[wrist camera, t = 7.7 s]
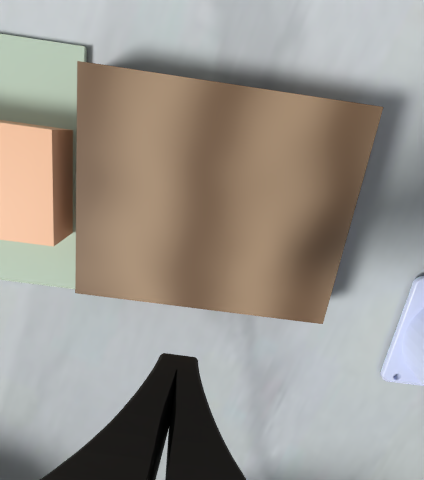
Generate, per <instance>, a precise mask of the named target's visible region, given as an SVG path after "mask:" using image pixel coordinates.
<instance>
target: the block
mask: <svg viewBox="0 0 424 480" xmlns="http://www.w3.org/2000/svg"><path fill="white" fill-rule="evenodd" d="M72 233H73V130H70V129H63V128H55V127H48V126H41V125H34V124H27V123H20V122H13V121H5V120H0V240H6V241H14V242H22V243H30V244H38V245H46V246H55V245H57V244H58V243H59V242H61V241H62V240H64V239H65V238H66V237H68V236H69V235H70V234H72Z"/></svg>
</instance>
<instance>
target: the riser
mask: <svg viewBox="0 0 424 480" xmlns="http://www.w3.org/2000/svg"><path fill="white" fill-rule="evenodd" d="M382 110H383V107H380V106H373V105H367V104H360V103H353V102H347V101H340V100H333V99H327V98H320V97H314V96H307V95H300V94H294V93H287V92H280V91H274V90H267V89H260V88H254V87H247V86H241V85H234V84H227V83H221V82H214V81H207V80H201V79H194V78H187V77H181V76H174V75H168V74H161V73H154V72H148V71H141V70H134V69H128V68H121V67H114V66H108V65H101V64H95V63H88V62H81V61H77V148H76V272H75V293H79V294H87V295H95V296H103V297H111V298H119V299H127V300H135V301H143V302H151V303H159V304H167V305H175V306H183V307H191V308H199V309H207V310H215V311H223V312H231V313H239V314H247V315H255V316H263V317H271V318H279V319H287V320H295V321H303V322H311V323H319V324H323V321H324V317H325V314H326V310H327V307H328V303H329V300H330V296H331V292H332V289H333V285H334V282H335V278H336V275H337V271H338V267H339V264H340V260H341V257H342V253H343V250H344V246H345V242H346V239H347V235H348V232H349V228H350V225H351V221H352V217H353V214H354V210H355V207H356V203H357V200H358V196H359V192H360V189H361V185H362V182H363V178H364V175H365V171H366V167H367V164H368V160H369V157H370V153H371V150H372V146H373V142H374V139H375V135H376V132H377V128H378V125H379V121H380V117H381V114H382Z"/></svg>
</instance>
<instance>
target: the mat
mask: <svg viewBox="0 0 424 480" xmlns="http://www.w3.org/2000/svg"><path fill="white" fill-rule="evenodd" d="M86 58H87V48H86V47H85V46H78V45H72V44H65V43H58V42H52V41H45V40H39V39H32V38H26V37H19V36H12V35H6V34H0V120H5V121H13V122H20V123H27V124H34V125H41V126H48V127H55V128H63V129H70V130H73V233H72V234H70V235H69V236H68V237H66V238H65V239H64V240H62V241H61V242H59V243H58V244H57V245H55V246H46V245H38V244H30V243H22V242H14V241H6V240H0V280H5V281H13V282H21V283H29V284H37V285H45V286H53V287H61V288H69V289H75V272H76V148H77V61H81V62H86Z"/></svg>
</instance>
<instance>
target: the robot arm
mask: <svg viewBox="0 0 424 480" xmlns="http://www.w3.org/2000/svg"><path fill="white" fill-rule="evenodd" d="M380 374H381V376H382V378H383V379H384V380H385V381H389V382H397V383H406V384H414V385H422V386H424V276H419V277H417V278H416V279H415V280H414V282H413V284H412V287H411V290H410V292H409V295H408V298H407V301H406V303H405V306H404V309H403V312H402V314H401V317H400V320H399V323H398V325H397V328H396V331H395V334H394V336H393V339H392V342H391V345H390V347H389V350H388V353H387V356H386V358H385V361H384V364H383V367H382V369H381V373H380ZM395 374H397V375H395ZM394 375H395V376H394ZM168 429H169V436H168V450H167V465H166V479H165V480H246V478H245V477H244V475H243V473H242V472H241V470H240V469H239V467H238V465H237V464H236V462H235V461H234V459H233V457H232V455H231V454H230V452H229V450H228V448H227V446H226V444H225V442H224V440H223V438H222V436H221V434H220V432H219V430H218V428H217V425H216V423H215V421H214V418H213V416H212V413H211V411H210V408H209V405H208V402H207V399H206V396H205V393H204V390H203V386H202V383H201V378H200V374H199V368H198V360H197V359H196V358H195V357H189V356H181V355H173V354H166V353H163V354H162V355H160V357H159V359H158V361H157V363H156V365H155V366H154V368H153V370H152V371H151V373H150V374H149V376H148V377H147V379H146V380H145V381H144V383H143V384H142V385H141V387H140V388H139V390H138V391H137V392H136V393H135V395H134V396H133V397H132V398H131V399H130V401H129V402H128V403H127V404H126V405H125V406H124V408H123V409H122V410H121V411H120V412H119V413H118V414H117V415H116V416H115V417H114V419H113V420H112V421H111V422H110V423H109V424H108V425H107V426H106V427H105V428H104V429H103V430H101V431H100V432H99V433H98V434H97V435H96V436H95V437H94V438H93V439H92V440H91V441H89V442H88V443H87V444H86V445H85V446H84V447H82V448H81V449H80V450H79V451H78V452H76V453H75V454H74V455H72V456H71V457H70V458H69V459H67V460H66V461H65V462H63V463H62V464H61V465H60V466H58V467H57V468H56V469H54V470H53V471H52V472H50V473H49V474H47V475H46V476H44V477H43V478H41V479H40V480H155V479H156V475H157V471H158V468H159V464H160V460H161V456H162V452H163V448H164V444H165V440H166V436H167V432H168Z"/></svg>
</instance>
